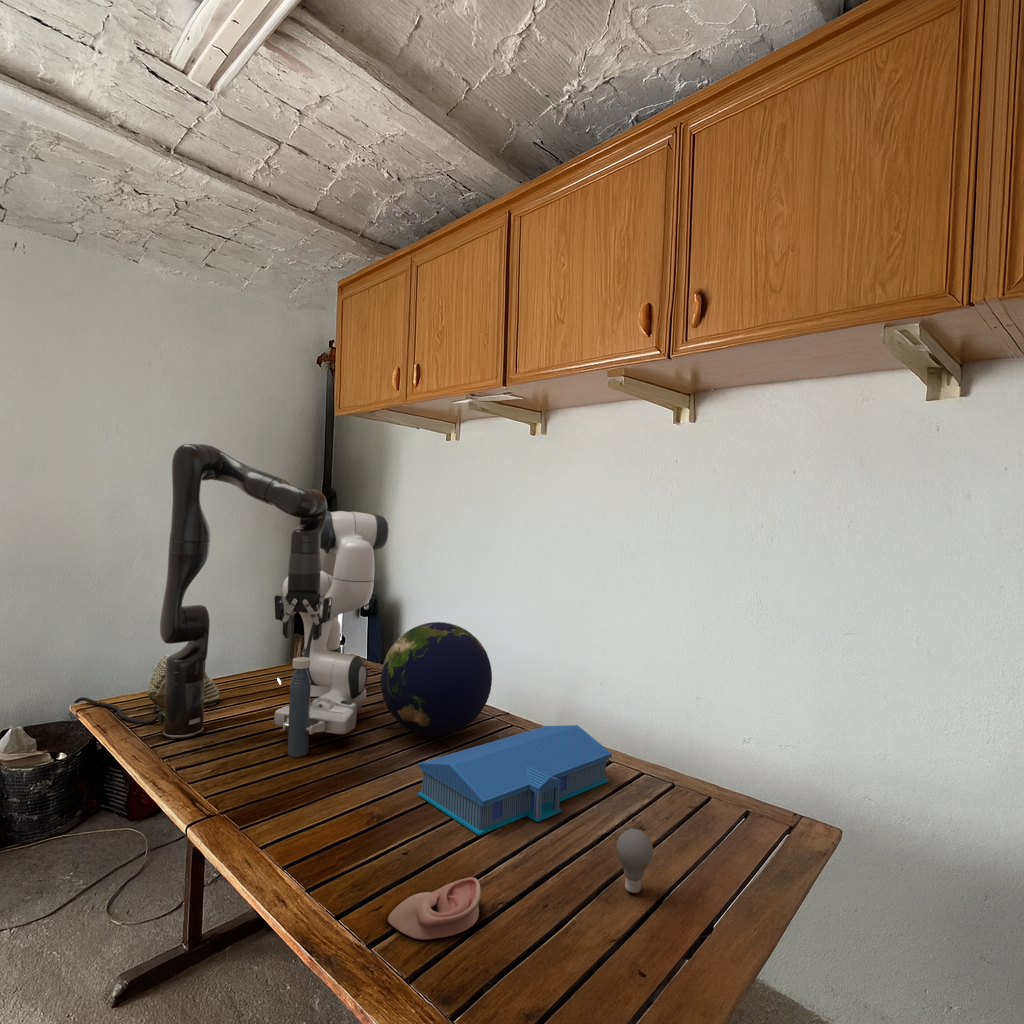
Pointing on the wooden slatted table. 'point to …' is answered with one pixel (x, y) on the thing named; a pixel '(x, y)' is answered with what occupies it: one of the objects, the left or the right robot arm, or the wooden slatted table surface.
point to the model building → (514, 777)
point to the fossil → (158, 687)
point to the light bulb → (634, 857)
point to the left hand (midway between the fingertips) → (302, 638)
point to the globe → (436, 679)
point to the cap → (301, 662)
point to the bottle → (299, 713)
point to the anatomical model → (439, 911)
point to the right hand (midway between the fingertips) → (296, 729)
